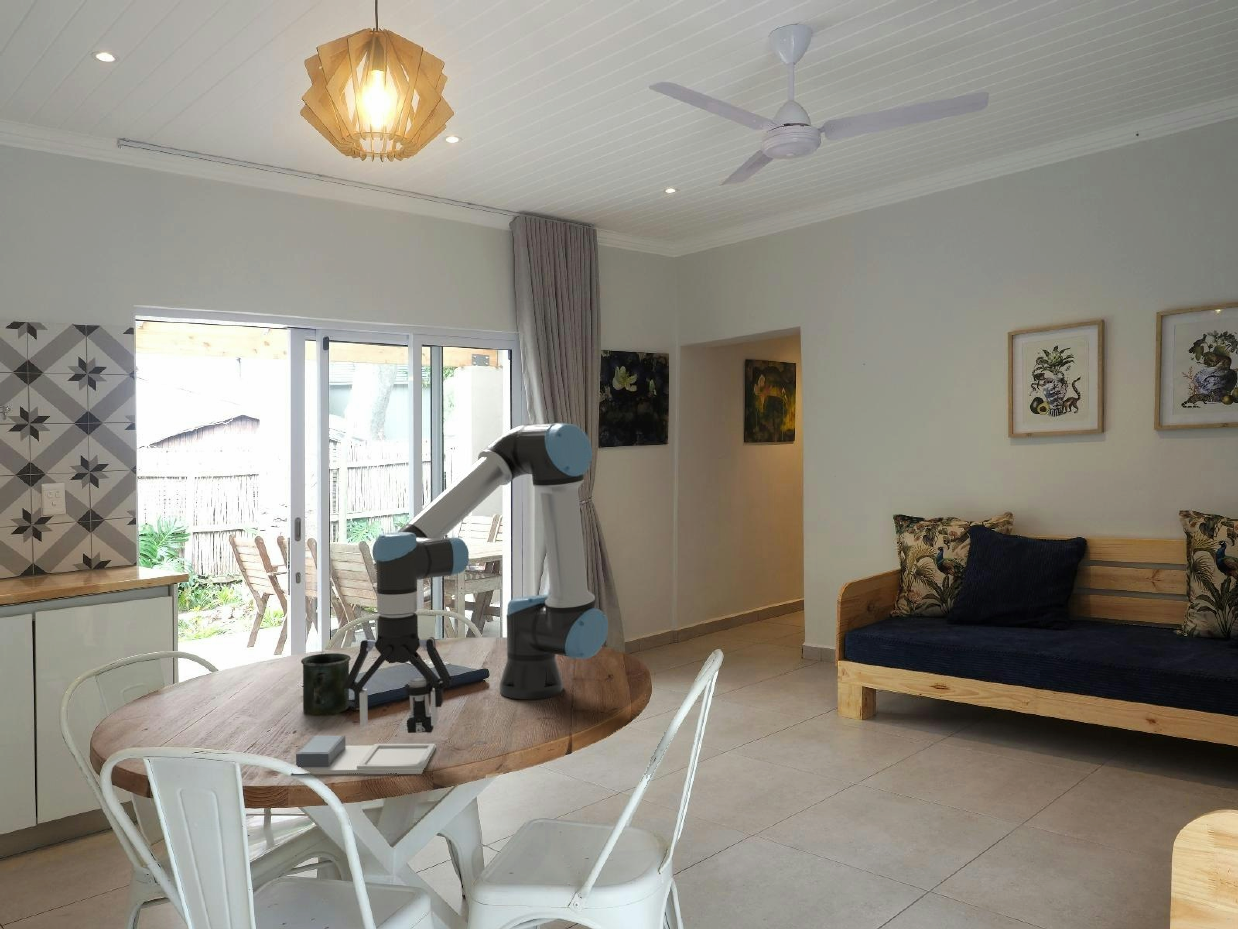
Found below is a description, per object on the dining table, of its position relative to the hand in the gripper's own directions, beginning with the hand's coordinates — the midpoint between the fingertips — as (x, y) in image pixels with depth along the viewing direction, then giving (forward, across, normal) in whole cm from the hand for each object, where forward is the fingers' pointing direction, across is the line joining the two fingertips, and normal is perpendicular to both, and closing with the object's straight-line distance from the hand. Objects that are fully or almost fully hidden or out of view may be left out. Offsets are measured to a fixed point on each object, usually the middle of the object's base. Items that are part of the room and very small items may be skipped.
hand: (399, 724), depth 175 cm
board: (+7, +6, 0) cm, 9 cm away
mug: (+7, +24, -33) cm, 41 cm away
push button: (+2, -3, 0) cm, 4 cm away
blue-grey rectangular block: (+6, +15, 0) cm, 16 cm away
